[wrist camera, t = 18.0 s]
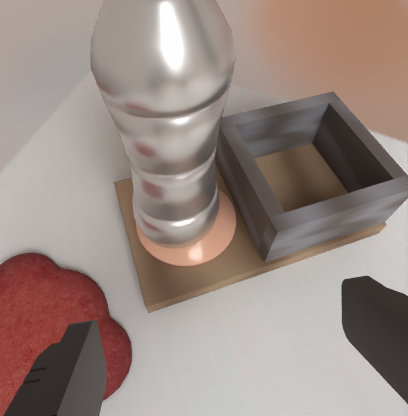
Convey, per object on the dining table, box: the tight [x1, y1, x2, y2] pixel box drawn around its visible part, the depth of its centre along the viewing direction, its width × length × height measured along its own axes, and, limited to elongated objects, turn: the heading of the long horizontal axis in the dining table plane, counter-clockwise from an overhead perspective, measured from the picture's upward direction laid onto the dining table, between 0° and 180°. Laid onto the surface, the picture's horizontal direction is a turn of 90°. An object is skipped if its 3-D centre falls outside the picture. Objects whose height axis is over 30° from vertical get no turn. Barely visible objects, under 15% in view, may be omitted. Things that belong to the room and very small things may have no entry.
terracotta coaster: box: [136, 188, 236, 267], centre depth 27 cm, size 8×8×1 cm
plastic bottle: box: [90, 0, 236, 249], centre depth 18 cm, size 6×7×20 cm
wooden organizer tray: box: [114, 92, 408, 313], centre depth 27 cm, size 21×12×6 cm, turn 110°
